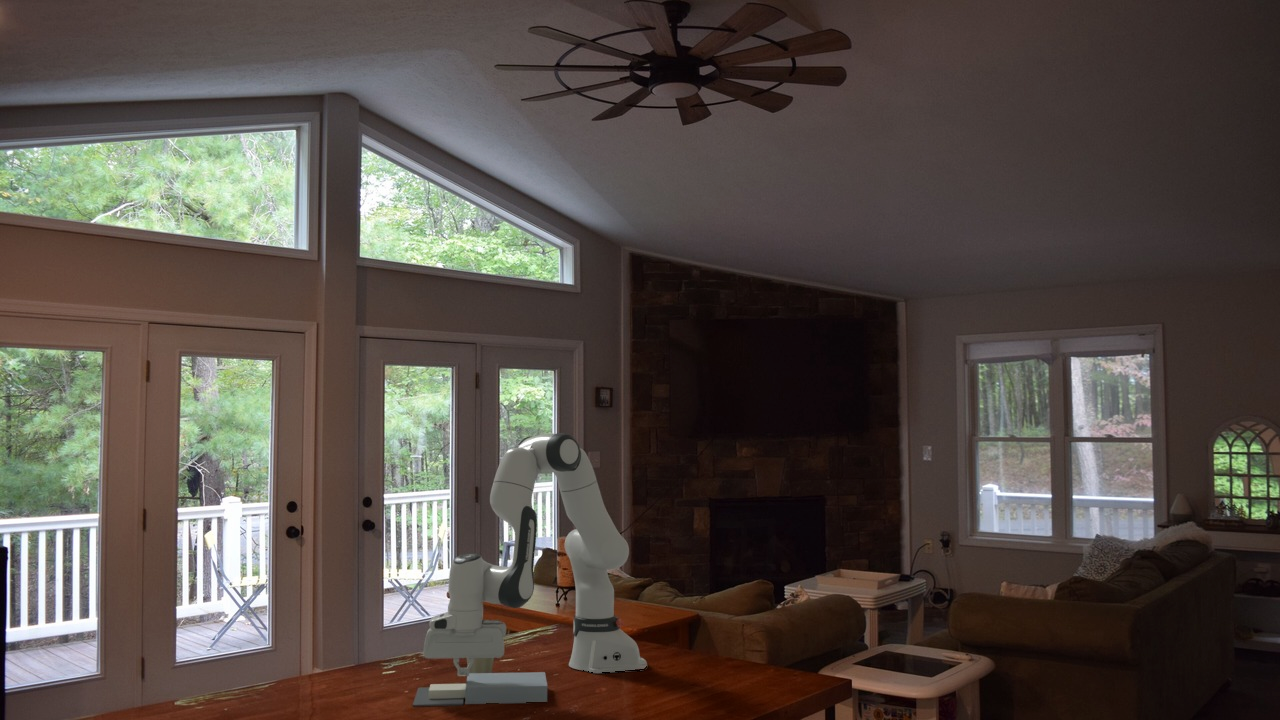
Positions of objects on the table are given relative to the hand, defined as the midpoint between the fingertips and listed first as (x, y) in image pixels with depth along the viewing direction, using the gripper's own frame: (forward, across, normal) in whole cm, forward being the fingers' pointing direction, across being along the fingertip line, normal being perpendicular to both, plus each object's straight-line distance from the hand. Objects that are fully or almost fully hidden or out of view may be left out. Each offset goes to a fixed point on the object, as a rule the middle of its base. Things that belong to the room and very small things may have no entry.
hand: (463, 675), depth 244 cm
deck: (+5, -11, 0) cm, 12 cm away
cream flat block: (+5, +4, 0) cm, 6 cm away
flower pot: (+5, -4, -20) cm, 21 cm away
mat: (+5, +6, 0) cm, 8 cm away
